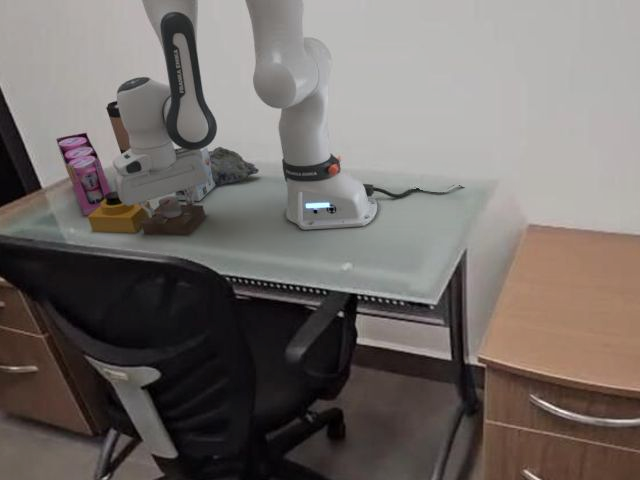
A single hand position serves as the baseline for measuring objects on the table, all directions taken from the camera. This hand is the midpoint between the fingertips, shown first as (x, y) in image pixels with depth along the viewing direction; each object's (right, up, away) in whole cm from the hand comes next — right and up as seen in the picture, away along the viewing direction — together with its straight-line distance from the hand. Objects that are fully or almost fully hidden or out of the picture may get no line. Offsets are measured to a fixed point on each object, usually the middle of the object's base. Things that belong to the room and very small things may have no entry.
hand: (171, 210), depth 146 cm
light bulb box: (0, +8, +17) cm, 19 cm away
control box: (-13, -2, +4) cm, 14 cm away
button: (-14, +2, +1) cm, 14 cm away
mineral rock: (+7, +11, +22) cm, 26 cm away
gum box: (-28, +6, +17) cm, 33 cm away
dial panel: (0, -3, +3) cm, 4 cm away
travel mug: (-20, +15, +29) cm, 38 cm away
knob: (0, -1, +1) cm, 1 cm away
